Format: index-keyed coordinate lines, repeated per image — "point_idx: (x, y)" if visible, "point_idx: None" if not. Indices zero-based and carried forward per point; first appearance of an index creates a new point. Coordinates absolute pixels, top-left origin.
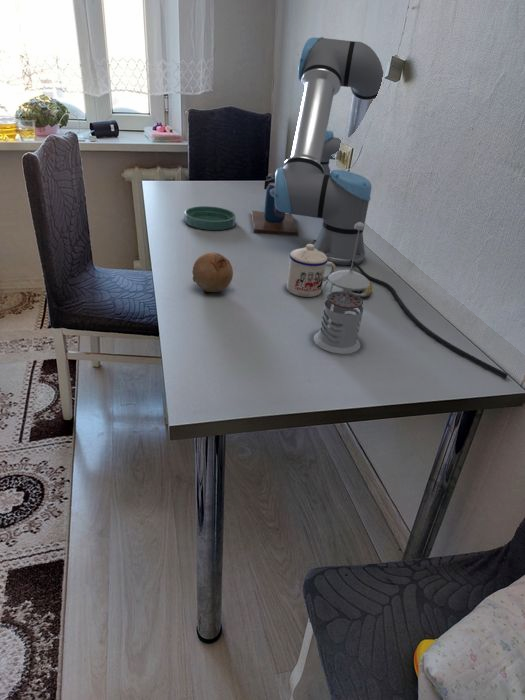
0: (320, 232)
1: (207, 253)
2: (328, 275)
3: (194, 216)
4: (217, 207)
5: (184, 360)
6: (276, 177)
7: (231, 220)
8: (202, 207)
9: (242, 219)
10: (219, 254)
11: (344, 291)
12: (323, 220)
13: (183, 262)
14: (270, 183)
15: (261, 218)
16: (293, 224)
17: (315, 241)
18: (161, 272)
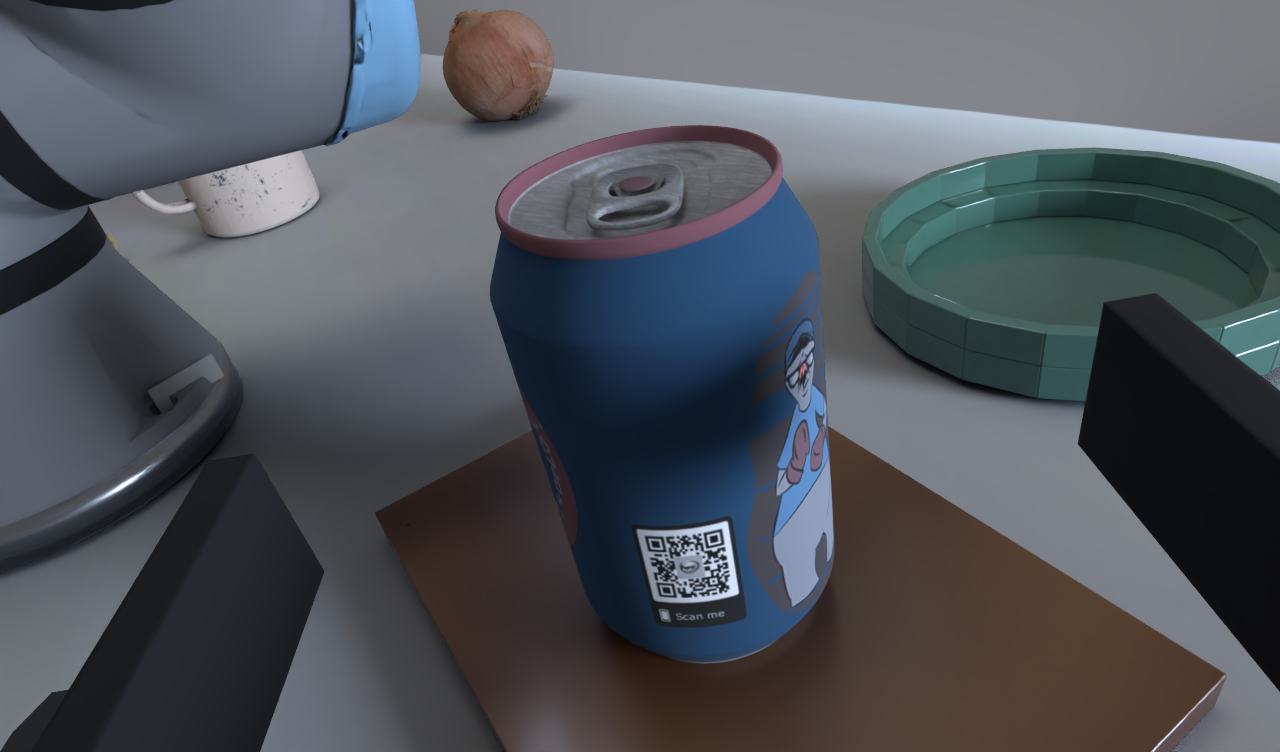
0: (140, 277)
1: (506, 10)
2: (160, 204)
3: (1234, 256)
4: (1258, 309)
5: (433, 65)
6: None
7: (868, 264)
8: None
9: (1039, 492)
10: (478, 22)
11: (118, 251)
12: (86, 207)
13: (687, 116)
14: (772, 169)
15: (859, 542)
16: (476, 653)
17: (197, 334)
18: (681, 85)
